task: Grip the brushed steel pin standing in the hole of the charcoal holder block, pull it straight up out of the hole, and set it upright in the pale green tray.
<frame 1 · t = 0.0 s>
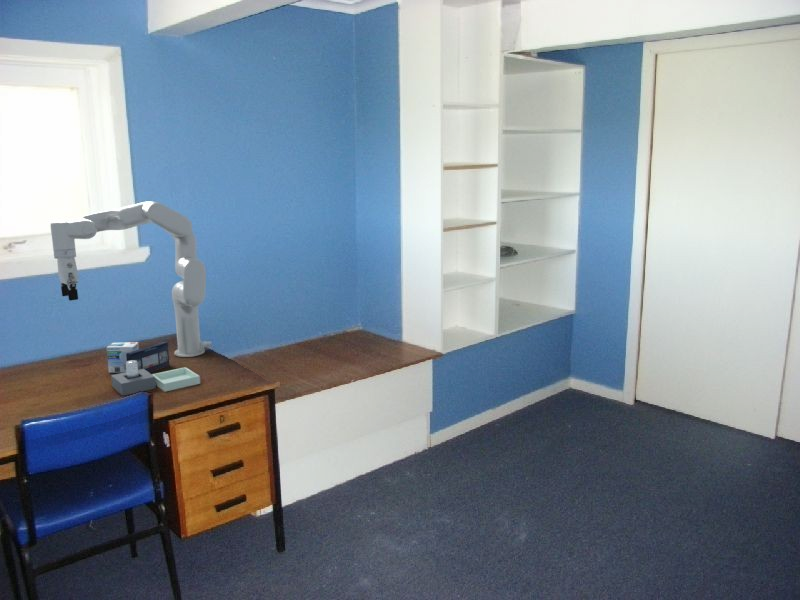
hand: (70, 297, 261), 31 cm above the table, tool pointing down, fingers open, 9 cm apart
tray: (175, 382, 259), on the table
steel pin: (132, 374, 253), in the pin holder
vhs cassette tape: (149, 372, 273), on the table
pin holder: (134, 387, 255), on the table
light bulb box: (125, 370, 275), on the table
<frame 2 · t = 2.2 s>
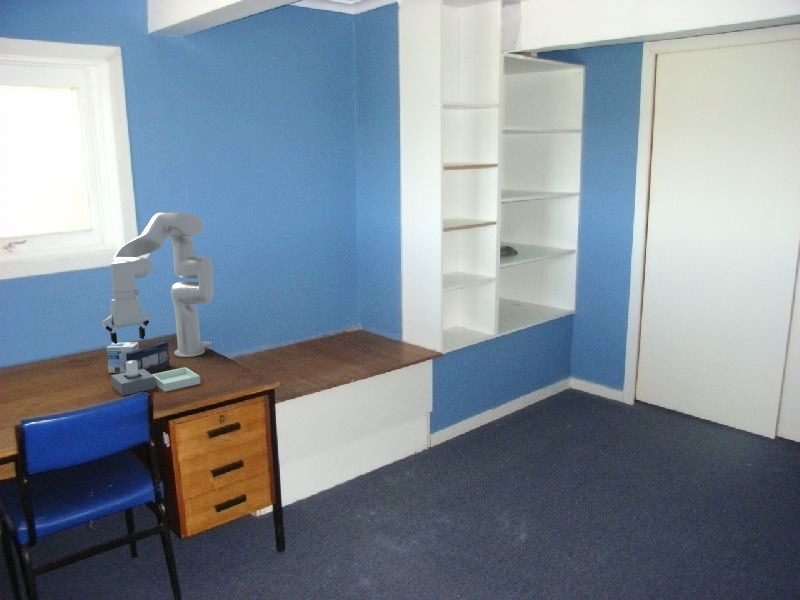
hand: (128, 340, 250), 18 cm above the table, tool pointing down, fingers open, 9 cm apart
nothing on the table moved.
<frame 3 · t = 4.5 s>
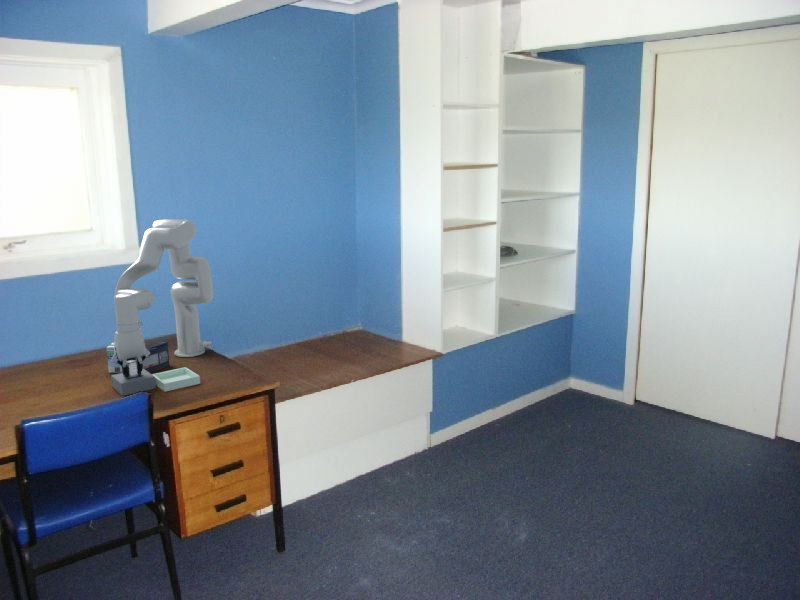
hand: (132, 374, 253), 5 cm above the table, tool pointing down, fingers closed on steel pin, 4 cm apart
steel pin: (132, 374, 253), in the pin holder, touching gripper
everything else where it was.
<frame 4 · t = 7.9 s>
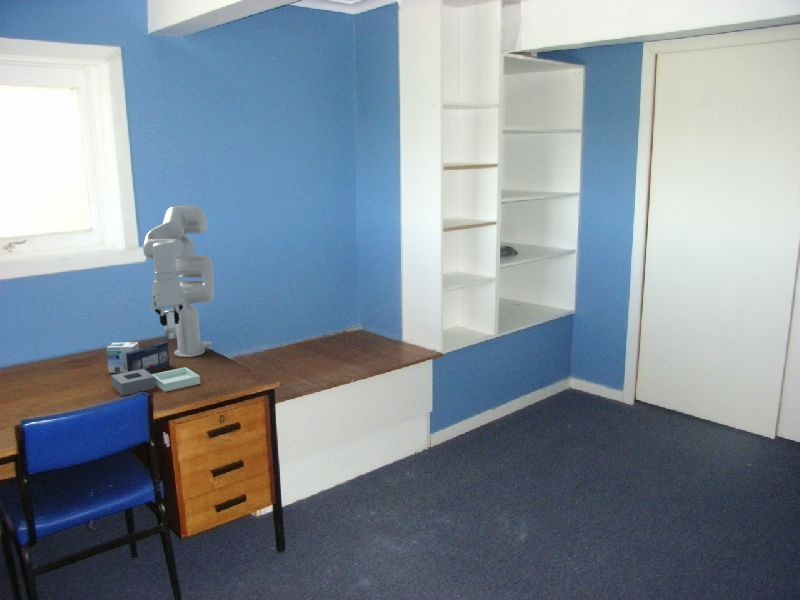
hand: (170, 323, 254), 23 cm above the table, tool pointing down, fingers closed on steel pin, 4 cm apart
steel pin: (170, 324, 254), point 23 cm above the table, touching gripper
everything else where it was.
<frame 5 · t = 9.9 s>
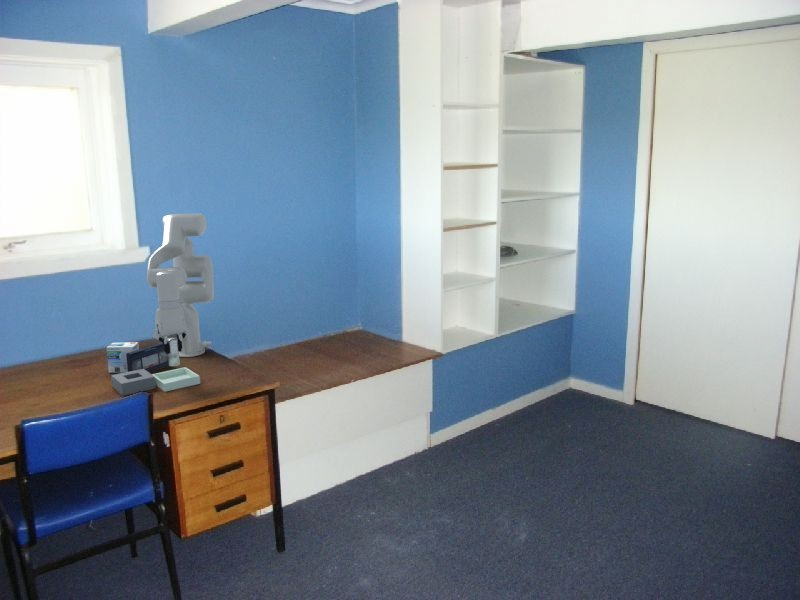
hand: (173, 351, 256), 12 cm above the table, tool pointing down, fingers closed on steel pin, 4 cm apart
steel pin: (173, 352, 256), point 12 cm above the table, touching gripper
everything else where it was.
when the fingers open (8 cm above the table, at t = 11.6 s): steel pin drops 2 cm, resting on tray.
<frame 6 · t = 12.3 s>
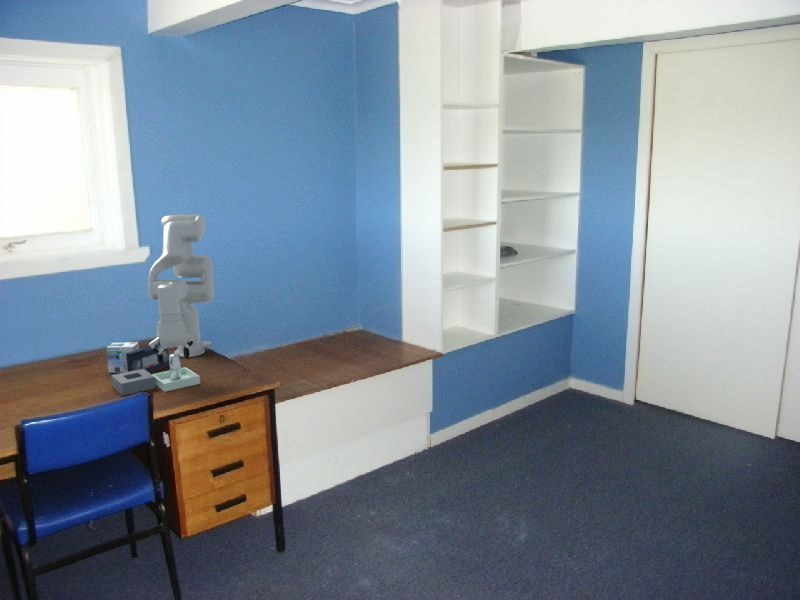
hand: (174, 361, 257), 9 cm above the table, tool pointing down, fingers open, 9 cm apart
steel pin: (175, 367, 258), in the tray, point 6 cm above the table
everything else where it was.
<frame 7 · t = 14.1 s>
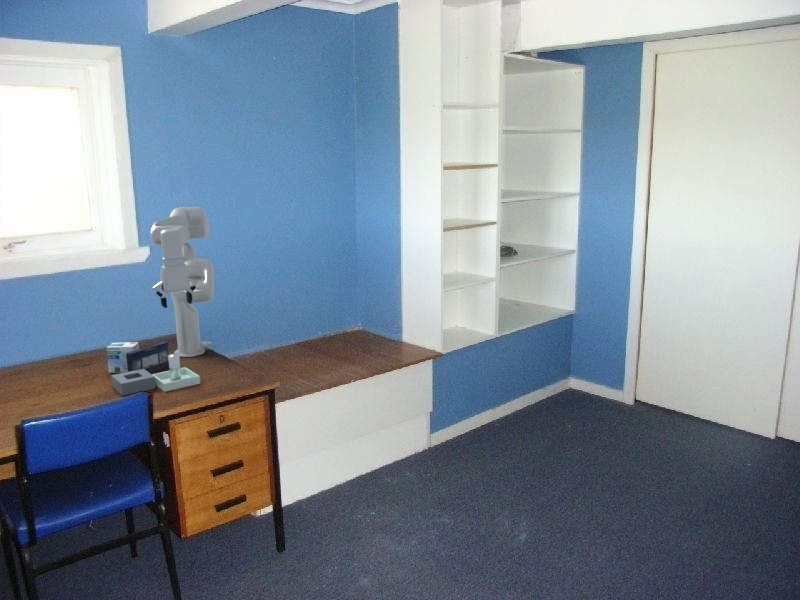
hand: (177, 305, 264), 28 cm above the table, tool pointing down, fingers open, 9 cm apart
nothing on the table moved.
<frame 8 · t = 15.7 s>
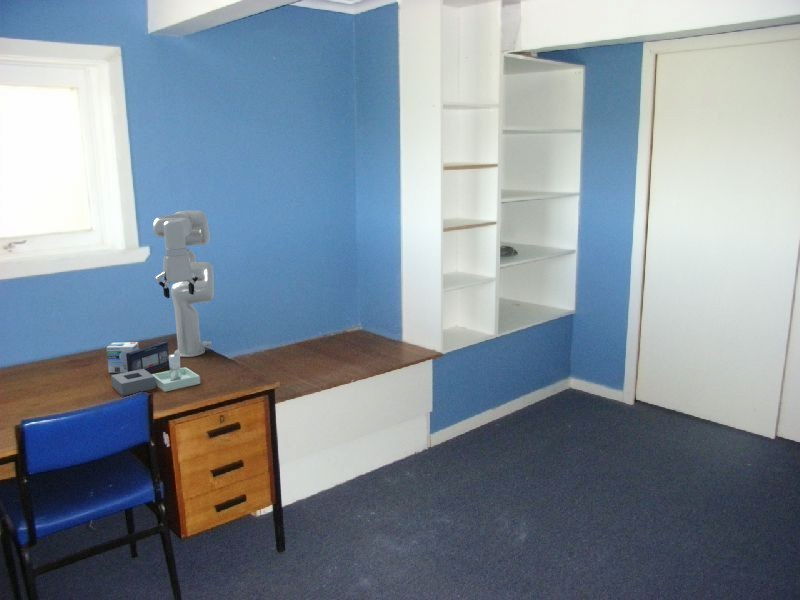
hand: (179, 295, 268), 30 cm above the table, tool pointing down, fingers open, 9 cm apart
nothing on the table moved.
at the end: steel pin inside the target area on the tray (0.0 cm from its centre), point 5.8 cm above the tray's base; steel pin tilted 1°; the gripper is holding nothing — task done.
